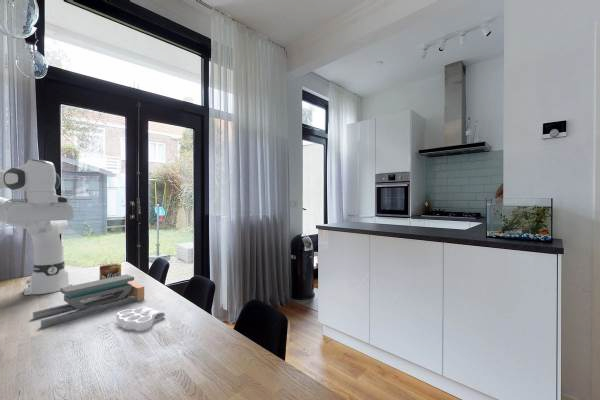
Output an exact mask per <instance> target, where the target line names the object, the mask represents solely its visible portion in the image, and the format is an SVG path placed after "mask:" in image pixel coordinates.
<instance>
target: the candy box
mask: <svg viewBox="0 0 600 400" xmlns="http://www.w3.org/2000/svg"><path fill="white" fill-rule="evenodd" d="M117 276H122V262H117V263H115V262H114V263H108V264H100V265H99V276H98V277H99V280H102V279H107V278H112V277H117Z"/></svg>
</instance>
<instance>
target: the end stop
mask: <svg viewBox="0 0 600 400" xmlns="http://www.w3.org/2000/svg"><path fill="white" fill-rule="evenodd" d="M128 283H129V284H131V285H132V289H131V290H130V292H129V293H128V294H127V295H126V296H125V297H130V296H134V295H137V296H138V301H137V302H139V301H142V300H145V286H144V285H142V284H139V283H136V282H134V281H129V282H128Z"/></svg>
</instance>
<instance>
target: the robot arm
mask: <svg viewBox="0 0 600 400" xmlns="http://www.w3.org/2000/svg"><path fill="white" fill-rule="evenodd" d="M61 183H62V180H61V177H60V175H59V174H58V173H57V172H56V167H55V164H54V163H53V162H52V161H49V160H43V159H35V158H31V159H28V160H27V162H25V163H24V164H22V165H20V166H16V167H11V168H9V169H8V170H3V169H0V190H1V189H9V190H12V191H16V192H17V191H18V192H25V193H26V198H10V199H9V198H5V197H3V196H0V222H1V223H3V224H7V225H9V226H12V227H15V228H22V229H25V230H27V233H28V235H30V237H31V241H32V245H33V249H34V250H33V251H34V264H33V267H32V268H33V269H32V271H33V273H32V275H31V276H30V277H29V278H28V279H26V283H25V284H26V285H27V286H25V288H24V294H23V295H24V296H28V295H29V296H30V295H44V294H51V293H55V292H60V288H63V287H68V286H73V283H72V282H70V281H69V271H68V270H66V269H65V261H64V246H63V244H62V241H61V237H60V236H61V234H62V233H63V232H65V231H66V230H67V228H68V225H69V223H68V221H71V220H73V219H74V216H75V215H74V208H73V206H72V204H70V203H71V198H69V197H66V196H62V195H58V194H57V191H56V190H58V188H60V186H61Z"/></svg>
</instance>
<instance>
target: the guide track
mask: <svg viewBox="0 0 600 400" xmlns="http://www.w3.org/2000/svg"><path fill="white" fill-rule="evenodd" d="M111 294H112V293H110V294H106V295H102V296H98V297H94V298H90V299H86V300H82V301H80V302H84V301H88V300H92V299H96V298H100V297H104V296H108V295H111ZM135 302H139V301H138V296H137V295H134V296H130V297H128V296H126V297H124V298H123V299H119V300H115V301H112V302H108V303H104V304H101V305H97V306H93V307H89V308H86V309H82V310H79V309H78V310H76V309H77V308H75V307H73V306H71V305H70V304H68V303H65V304H61V305H57V306H54V307H50V308H46V309H42V310H36V311H34V312H32V319H33V320H38V319H41V320H40V328H41V329H45V328H48V327H52V326H55V325H58V324H63V323H65V322H70V321H72V320H75V319H80V318H82V317H86V316H89V315H90V316H91V315H93V314H97V313H100V312H103V311H107V310H109V309H110V310H111V309H114V308H117V307H122V306H124V305H128V304H131V303H135ZM71 310H75V311H71ZM68 311H70V312H68ZM63 312H64V314H60V313H63ZM65 312H68V313H65ZM56 314H60V315H57V316H53V315H56ZM50 316H53V317H50ZM45 317H49V318H45ZM42 318H45V319H43V320H42Z"/></svg>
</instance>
